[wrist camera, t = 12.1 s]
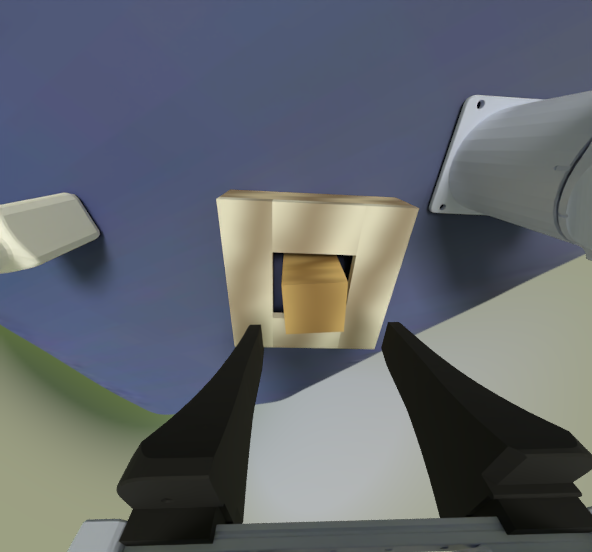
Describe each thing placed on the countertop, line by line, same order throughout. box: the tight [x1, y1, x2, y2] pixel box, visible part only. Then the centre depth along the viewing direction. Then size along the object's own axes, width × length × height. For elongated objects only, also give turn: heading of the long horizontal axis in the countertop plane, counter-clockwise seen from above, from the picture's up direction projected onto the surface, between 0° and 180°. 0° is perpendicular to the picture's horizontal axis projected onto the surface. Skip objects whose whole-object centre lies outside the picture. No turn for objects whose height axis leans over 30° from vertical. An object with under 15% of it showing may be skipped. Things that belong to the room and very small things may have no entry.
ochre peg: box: [282, 253, 348, 334], centre depth 19 cm, size 4×4×7 cm
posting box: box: [216, 190, 419, 349], centre depth 20 cm, size 14×14×4 cm
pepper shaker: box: [0, 193, 100, 273], centre depth 15 cm, size 4×4×10 cm
